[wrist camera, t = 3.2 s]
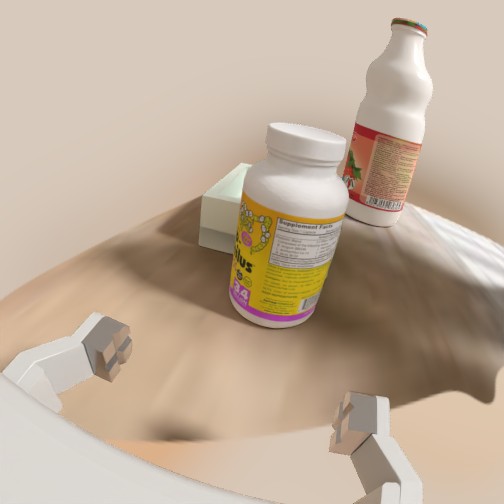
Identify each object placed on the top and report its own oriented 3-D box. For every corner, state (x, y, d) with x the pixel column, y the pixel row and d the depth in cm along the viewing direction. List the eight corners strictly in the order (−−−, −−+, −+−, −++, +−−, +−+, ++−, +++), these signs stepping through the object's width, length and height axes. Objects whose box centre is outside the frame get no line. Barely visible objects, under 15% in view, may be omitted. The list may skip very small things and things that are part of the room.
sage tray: (331, 224, 38) (341, 185, 35) (326, 278, 28) (341, 228, 25) (236, 200, 40) (241, 162, 37) (198, 245, 30) (202, 195, 27)
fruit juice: (385, 235, 38) (437, 20, 23) (323, 206, 43) (364, 6, 28) (404, 218, 44) (448, 42, 30) (352, 195, 49) (388, 27, 35)
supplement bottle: (229, 271, 27) (250, 114, 20) (306, 279, 27) (344, 131, 21) (226, 329, 21) (253, 131, 14) (320, 335, 22) (380, 155, 15)
